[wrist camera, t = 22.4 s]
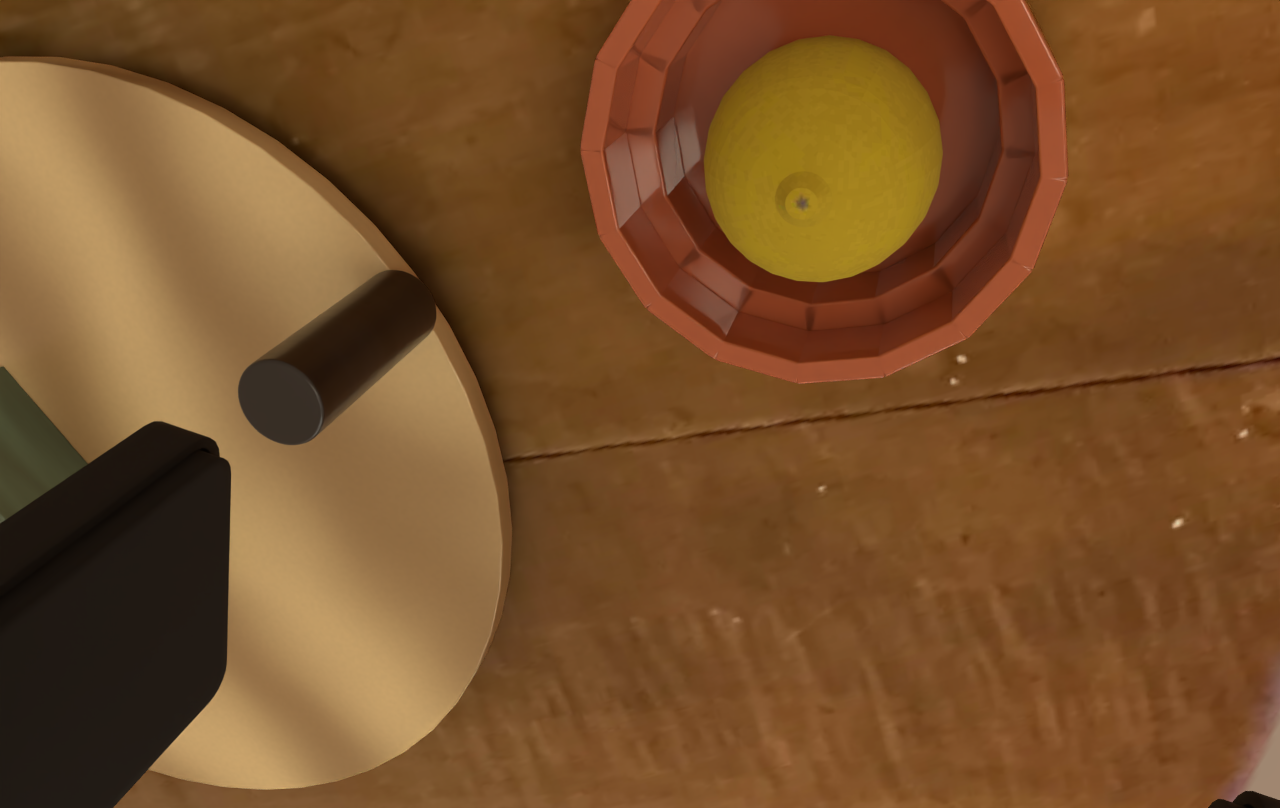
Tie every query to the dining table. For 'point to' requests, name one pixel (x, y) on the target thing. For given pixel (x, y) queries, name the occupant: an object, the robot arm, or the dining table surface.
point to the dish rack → (253, 409)
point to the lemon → (823, 158)
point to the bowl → (878, 297)
